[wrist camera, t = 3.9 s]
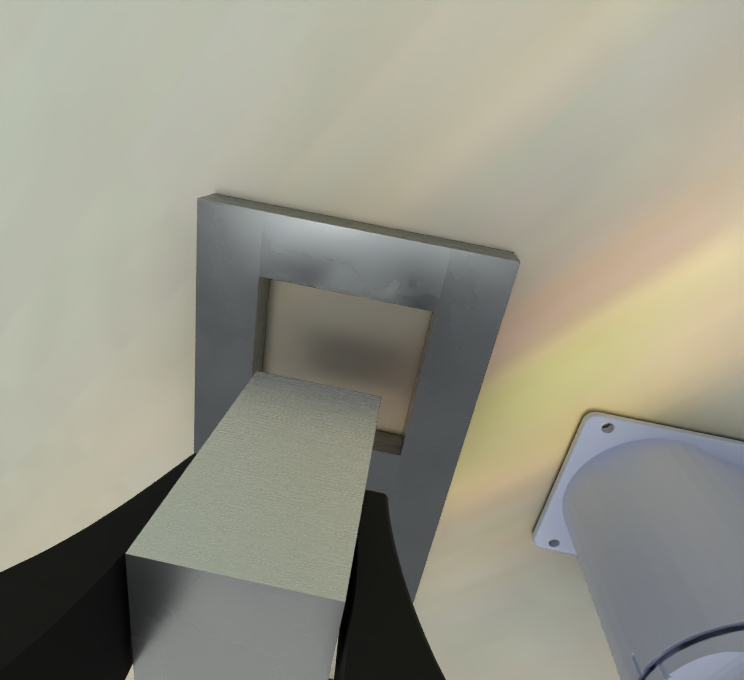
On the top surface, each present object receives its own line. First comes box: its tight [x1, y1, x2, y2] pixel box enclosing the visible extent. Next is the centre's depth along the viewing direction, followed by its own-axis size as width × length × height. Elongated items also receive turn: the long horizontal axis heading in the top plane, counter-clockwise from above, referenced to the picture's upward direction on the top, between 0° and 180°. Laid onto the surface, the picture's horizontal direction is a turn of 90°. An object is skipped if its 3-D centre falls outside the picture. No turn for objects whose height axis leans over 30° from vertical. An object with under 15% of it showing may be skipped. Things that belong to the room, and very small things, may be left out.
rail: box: [194, 194, 520, 680], centre depth 24 cm, size 12×32×2 cm, turn 170°
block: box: [125, 371, 381, 680], centre depth 12 cm, size 4×4×7 cm
